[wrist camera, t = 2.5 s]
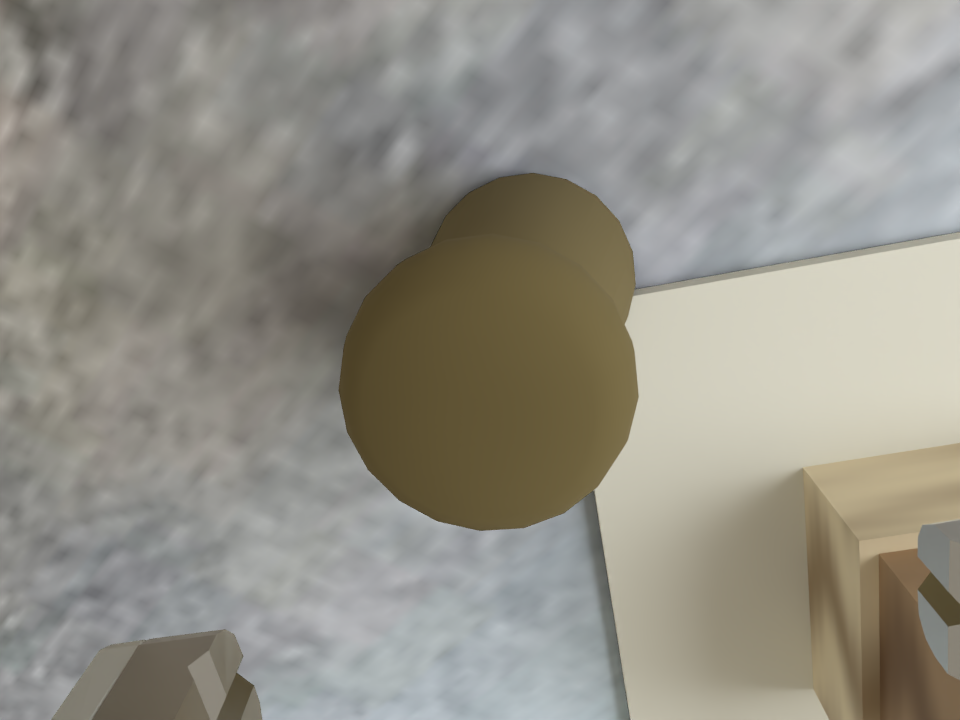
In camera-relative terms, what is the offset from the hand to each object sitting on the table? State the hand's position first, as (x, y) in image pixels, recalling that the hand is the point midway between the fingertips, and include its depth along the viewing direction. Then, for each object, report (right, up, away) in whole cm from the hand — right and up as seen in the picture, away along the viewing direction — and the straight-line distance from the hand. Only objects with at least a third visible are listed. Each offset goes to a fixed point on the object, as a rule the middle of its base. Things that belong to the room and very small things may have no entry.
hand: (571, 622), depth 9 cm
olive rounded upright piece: (0, +5, +13) cm, 15 cm away
